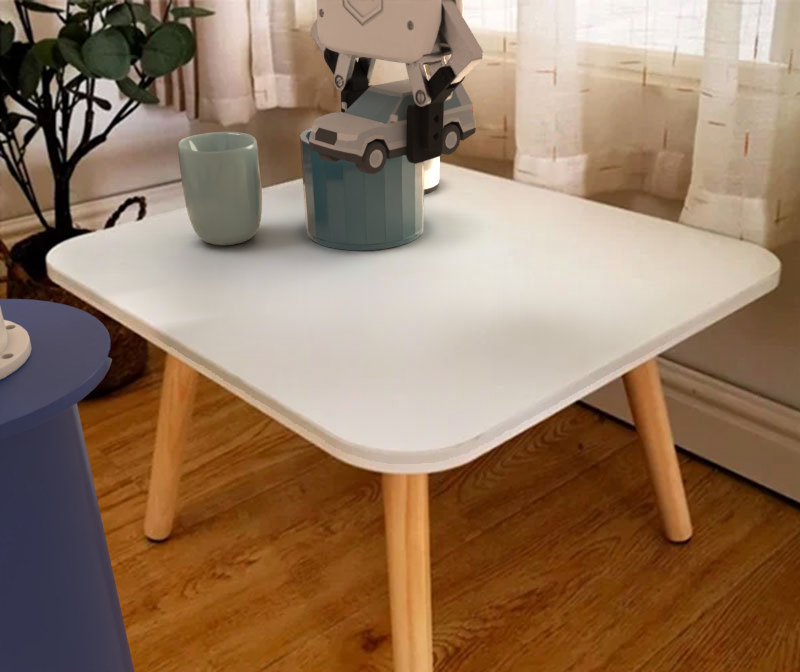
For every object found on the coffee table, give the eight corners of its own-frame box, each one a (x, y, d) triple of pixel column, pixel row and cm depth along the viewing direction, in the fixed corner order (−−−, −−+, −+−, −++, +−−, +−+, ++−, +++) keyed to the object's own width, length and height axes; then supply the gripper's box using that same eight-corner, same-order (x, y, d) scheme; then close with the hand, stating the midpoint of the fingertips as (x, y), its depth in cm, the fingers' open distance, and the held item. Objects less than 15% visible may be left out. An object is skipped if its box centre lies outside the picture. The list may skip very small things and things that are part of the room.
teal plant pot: (367, 259, 91) (363, 156, 86) (282, 232, 98) (274, 136, 93) (447, 227, 99) (448, 131, 94) (363, 204, 106) (360, 113, 101)
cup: (258, 223, 101) (250, 128, 96) (272, 246, 95) (264, 147, 90) (185, 231, 99) (172, 135, 94) (194, 256, 93) (181, 155, 88)
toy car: (299, 165, 67) (295, 93, 65) (426, 135, 75) (427, 69, 72) (352, 182, 64) (350, 106, 61) (480, 148, 71) (483, 80, 69)
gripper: (258, -133, 63) (274, 140, 72) (459, -131, 53) (448, 186, 62) (339, -132, 68) (344, 123, 76) (536, -131, 58) (516, 163, 66)
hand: (391, 148), depth 69 cm, fingers closed on toy car, 5 cm apart
